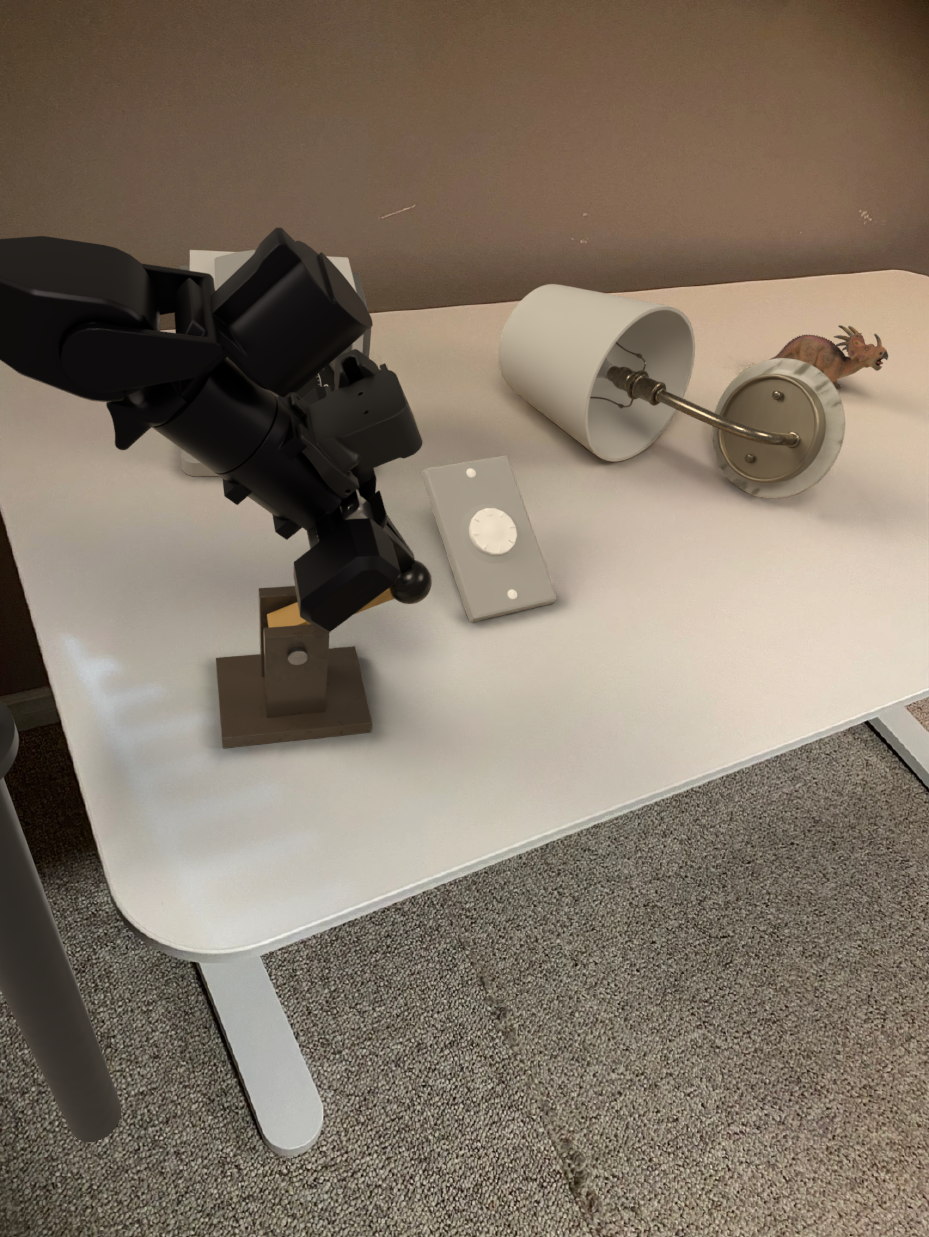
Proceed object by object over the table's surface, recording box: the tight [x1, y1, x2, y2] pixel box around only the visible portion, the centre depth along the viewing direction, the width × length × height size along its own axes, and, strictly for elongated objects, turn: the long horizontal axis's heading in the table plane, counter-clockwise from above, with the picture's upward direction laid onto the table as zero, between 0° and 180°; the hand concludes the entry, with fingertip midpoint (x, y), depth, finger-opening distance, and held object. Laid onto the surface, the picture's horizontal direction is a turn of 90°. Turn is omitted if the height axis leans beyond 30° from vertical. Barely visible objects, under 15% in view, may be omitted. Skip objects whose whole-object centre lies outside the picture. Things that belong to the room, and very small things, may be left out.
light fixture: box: [497, 283, 846, 500], centre depth 97 cm, size 17×19×34 cm
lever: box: [267, 559, 433, 627], centre depth 66 cm, size 12×3×3 cm, turn 104°
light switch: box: [420, 455, 558, 623], centre depth 85 cm, size 8×6×14 cm
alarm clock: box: [179, 249, 372, 477], centre depth 90 cm, size 18×13×18 cm
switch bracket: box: [215, 585, 373, 749], centre depth 69 cm, size 11×8×10 cm
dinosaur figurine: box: [768, 324, 889, 389], centre depth 117 cm, size 14×6×9 cm, turn 75°
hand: (409, 562), depth 65 cm, fingers closed
